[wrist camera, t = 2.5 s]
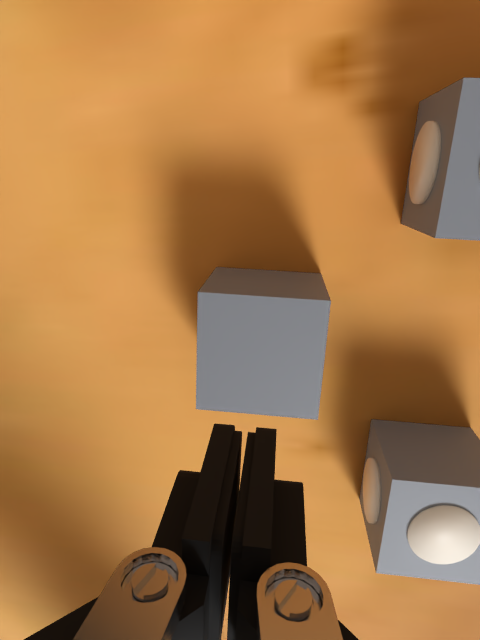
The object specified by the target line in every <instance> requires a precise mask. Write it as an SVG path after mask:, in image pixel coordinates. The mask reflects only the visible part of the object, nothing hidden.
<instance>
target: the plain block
mask: <svg viewBox="0 0 480 640" xmlns="http://www.w3.org/2000/svg"><path fill="white" fill-rule="evenodd" d="M330 304H331V300H330V297H329V294H328V292H327V289H326V286H325V283H324V280H323V278H322V275H321V273H306V272H290V271H274V270H258V269H242V268H226V267H216V268H215V270H214V271H213V272H212V274H211V275H210V276H209V278H208V279H207V280H206V282H205V283H204V284H203V286H202V287H201V288H200V290H199V291H198V311H197V380H196V409H201V410H213V411H224V412H236V413H247V414H259V415H270V416H282V417H293V418H305V419H316V420H318V413H319V404H320V395H321V386H322V377H323V368H324V358H325V349H326V340H327V331H328V322H329V313H330Z"/></svg>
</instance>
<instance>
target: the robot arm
mask: <svg viewBox="0 0 480 640" xmlns="http://www.w3.org/2000/svg"><path fill="white" fill-rule="evenodd" d="M241 444H242V431H235V426H234V425H225V424H214V427H213V430H212V434H211V437H210V441H209V444H208V448H207V451H206V455H205V458H204V462H203V465H202V469H201V472H192V471H182V470H180V471H179V472H178V475H177V477H176V480H175V483H174V486H173V489H172V491H171V494H170V497H169V500H168V503H167V505H166V508H165V511H164V514H163V517H162V520H161V522H160V525H159V528H158V531H157V534H156V536H155V539H154V542H153V545H152V547H151V548H144V549H141V550H138V551H136V552H133V553H132V554H130V555H129V556H128V557H126V558H125V559H123V561H122V562H121V563H120V564H119V566H118V567H117V568H116V570H115V571H114V573H113V575H112V576H111V578H110V580H109V581H108V583H107V585H106V586H105V588H104V589H103V591H102V593H101V594H100V596H99V597H97V598H96V599H94V600H92V601H90V602H89V603H87V604H85V605H83V606H82V607H80V608H78V609H76V610H75V611H73V612H71V613H69V614H68V615H66V616H64V617H62V618H61V619H59V620H57V621H55V622H54V623H52V624H50V625H48V626H47V627H45V628H43V629H42V630H40V631H38V632H36V633H35V634H33V635H31V636H29V637H28V638H26V639H24V640H221V634H222V627H223V620H224V613H225V606H226V599H227V592H228V585H229V578H230V588H229V610H228V632H227V640H358V639H357V638H356V637H355V636H354V635H353V634H352V633H351V632H350V631H349V630H348V629H347V628H346V627H345V626H344V625H343V624H342V623H341V622H340V621H339V620H338V619H337V615H336V611H335V607H334V604H333V600H332V596H331V593H330V590H329V588H328V586H327V584H326V582H325V581H324V580H323V579H322V577H321V576H320V575H319V574H318V573H316V572H315V571H314V570H312V569H311V568H309V567H307V557H306V536H305V514H304V493H303V483H302V482H292V481H282V480H274V474H275V451H276V429H269V428H258V427H257V428H256V433H252V432H248V436H247V443H246V449H245V456H244V463H243V470H242V476H241V483H240V464H241ZM239 484H240V490H239Z"/></svg>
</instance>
